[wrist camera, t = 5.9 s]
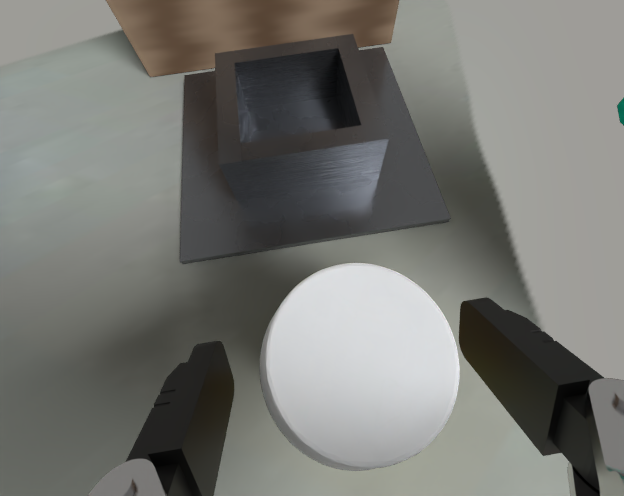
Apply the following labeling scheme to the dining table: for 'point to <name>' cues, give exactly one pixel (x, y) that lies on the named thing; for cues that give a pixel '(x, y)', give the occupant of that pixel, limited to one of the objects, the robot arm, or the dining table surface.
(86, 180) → the dining table surface
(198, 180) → the socket
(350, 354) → the supplement bottle
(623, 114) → the candle
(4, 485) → the dining table surface
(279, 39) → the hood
